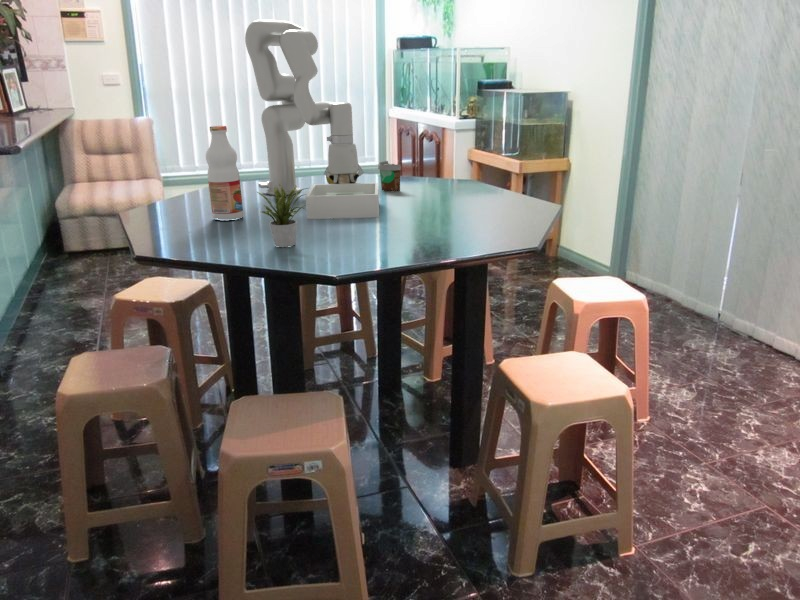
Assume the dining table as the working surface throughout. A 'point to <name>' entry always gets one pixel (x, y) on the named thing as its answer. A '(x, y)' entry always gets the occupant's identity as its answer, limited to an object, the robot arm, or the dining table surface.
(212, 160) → the fruit juice
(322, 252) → the dining table surface
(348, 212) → the box
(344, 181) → the peg
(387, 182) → the food container
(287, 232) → the house plant
